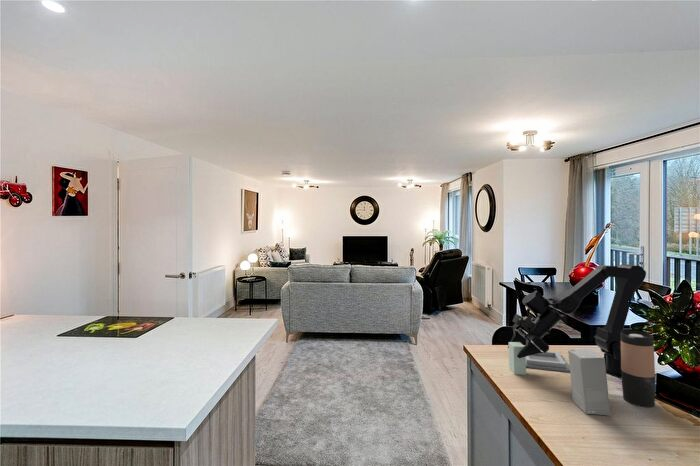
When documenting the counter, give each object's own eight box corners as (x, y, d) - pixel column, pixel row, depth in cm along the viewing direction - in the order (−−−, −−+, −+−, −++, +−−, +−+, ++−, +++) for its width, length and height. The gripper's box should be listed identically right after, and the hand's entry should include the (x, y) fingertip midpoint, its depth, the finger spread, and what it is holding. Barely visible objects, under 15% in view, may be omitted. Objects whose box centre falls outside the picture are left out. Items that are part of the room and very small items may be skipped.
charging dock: (562, 356, 135) (561, 351, 135) (572, 372, 120) (571, 366, 120) (518, 352, 141) (518, 347, 141) (522, 367, 126) (522, 360, 126)
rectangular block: (520, 368, 124) (519, 342, 124) (526, 374, 119) (525, 346, 119) (509, 368, 125) (508, 342, 125) (514, 374, 120) (513, 346, 120)
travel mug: (647, 396, 101) (645, 331, 101) (661, 409, 94) (659, 338, 94) (617, 393, 104) (615, 329, 104) (628, 405, 97) (626, 336, 97)
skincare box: (611, 416, 91) (609, 359, 91) (582, 414, 93) (580, 357, 93) (595, 401, 99) (593, 348, 100) (568, 399, 101) (567, 347, 101)
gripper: (517, 302, 131) (488, 329, 132) (538, 313, 112) (505, 345, 114) (539, 322, 130) (510, 349, 131) (564, 336, 111) (530, 369, 113)
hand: (513, 352), depth 122 cm, fingers open, 9 cm apart
